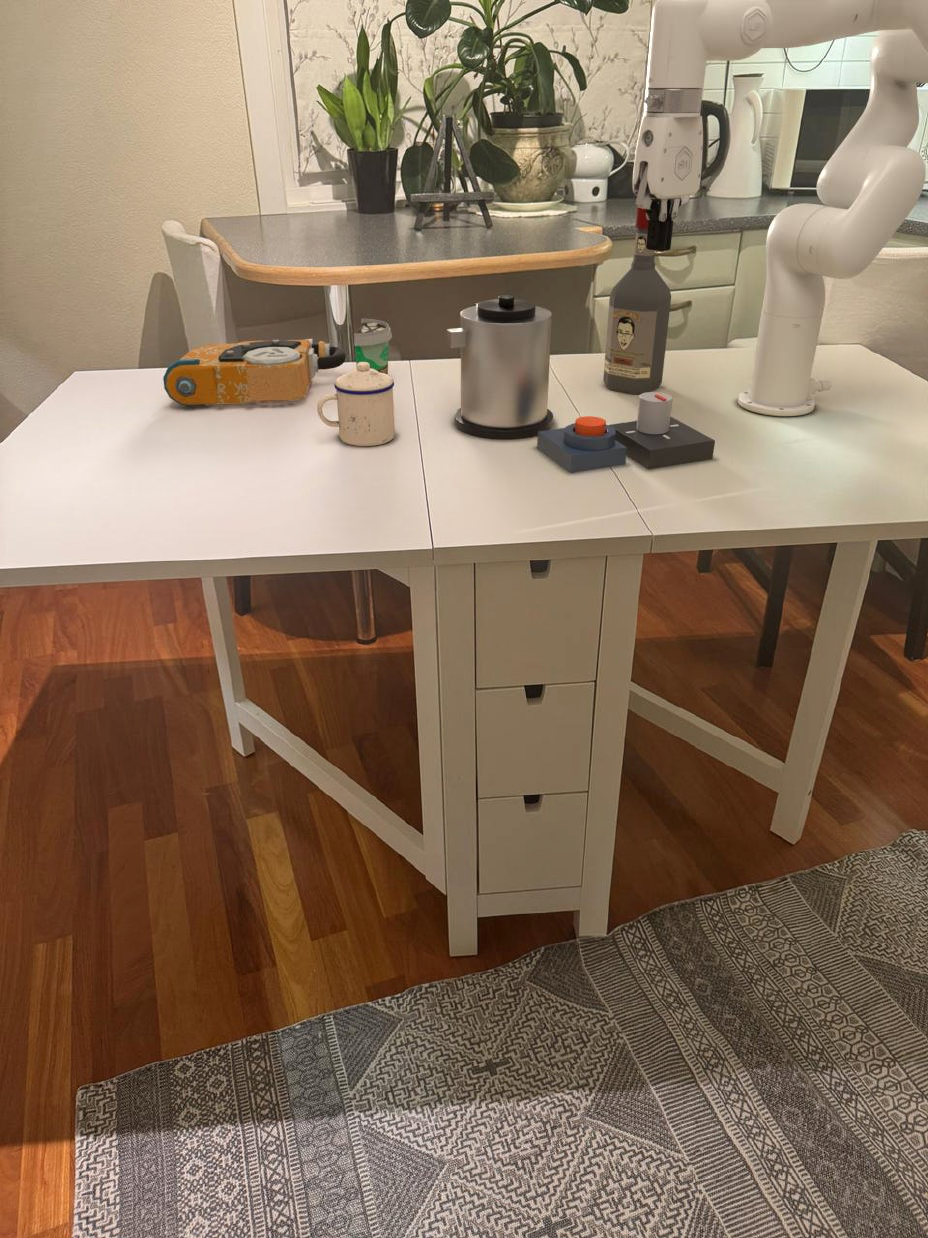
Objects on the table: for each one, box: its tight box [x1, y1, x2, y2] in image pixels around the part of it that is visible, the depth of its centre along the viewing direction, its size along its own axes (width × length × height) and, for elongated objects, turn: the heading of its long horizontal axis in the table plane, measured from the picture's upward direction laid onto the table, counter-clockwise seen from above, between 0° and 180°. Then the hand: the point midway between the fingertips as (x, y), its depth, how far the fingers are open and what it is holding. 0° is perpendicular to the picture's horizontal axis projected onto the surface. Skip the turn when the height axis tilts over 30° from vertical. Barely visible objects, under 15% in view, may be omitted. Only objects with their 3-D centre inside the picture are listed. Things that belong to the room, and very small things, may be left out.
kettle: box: [446, 294, 554, 441], centre depth 145 cm, size 17×20×20 cm
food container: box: [353, 318, 393, 375], centre depth 167 cm, size 12×6×10 cm, turn 179°
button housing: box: [536, 422, 627, 474], centre depth 135 cm, size 9×11×4 cm
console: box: [608, 415, 716, 470], centre depth 137 cm, size 11×12×3 cm
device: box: [162, 338, 347, 408], centre depth 162 cm, size 23×8×30 cm
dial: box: [636, 391, 673, 435], centre depth 136 cm, size 5×5×5 cm
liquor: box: [603, 207, 672, 395], centre depth 158 cm, size 9×9×30 cm
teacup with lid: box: [316, 362, 396, 447], centre depth 140 cm, size 12×9×12 cm
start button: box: [574, 415, 607, 436], centre depth 132 cm, size 4×4×2 cm
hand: (658, 249), depth 132 cm, fingers closed
